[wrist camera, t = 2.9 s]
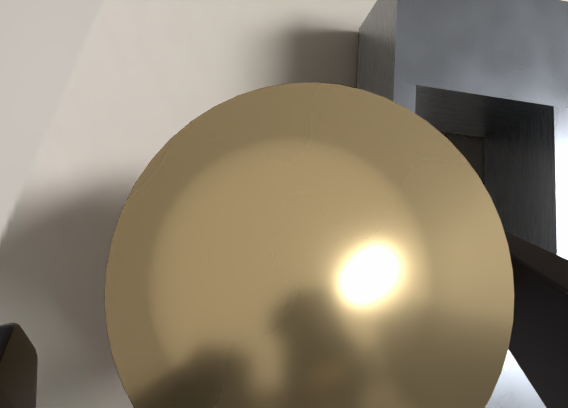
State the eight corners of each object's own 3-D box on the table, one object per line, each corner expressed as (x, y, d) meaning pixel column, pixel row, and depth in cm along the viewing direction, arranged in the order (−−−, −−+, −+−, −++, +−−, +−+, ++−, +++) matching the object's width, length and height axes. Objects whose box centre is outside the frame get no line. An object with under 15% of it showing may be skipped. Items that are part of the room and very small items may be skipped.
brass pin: (315, 361, 17) (648, 664, 4) (136, 354, 16) (-168, 736, 3) (325, 192, 18) (616, 15, 5) (157, 174, 17) (0, -108, 4)
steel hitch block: (501, 384, 18) (582, 417, 14) (341, 379, 17) (381, 413, 13) (499, 52, 20) (569, 2, 16) (359, 28, 19) (398, -32, 15)
